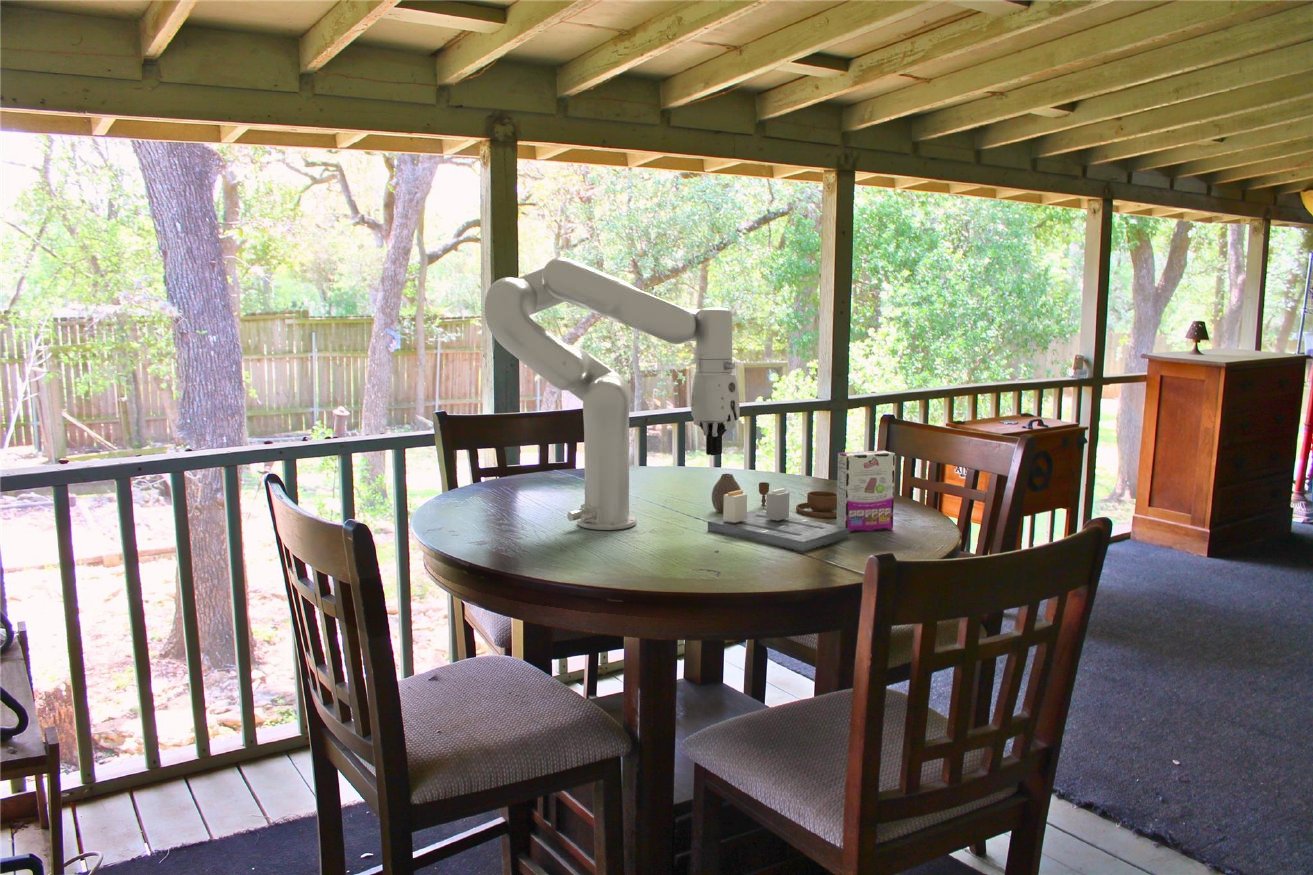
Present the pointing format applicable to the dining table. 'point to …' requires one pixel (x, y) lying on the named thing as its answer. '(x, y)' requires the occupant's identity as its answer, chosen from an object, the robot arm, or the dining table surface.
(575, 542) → the dining table surface
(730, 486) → the vase
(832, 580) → the dining table surface
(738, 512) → the ivory fader
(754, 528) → the console
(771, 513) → the grey fader
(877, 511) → the candy bar box
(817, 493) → the place setting
